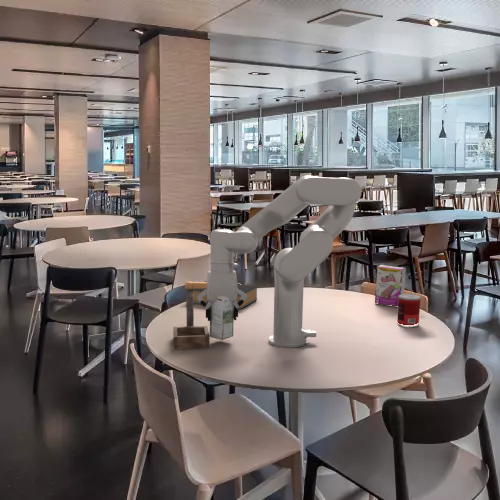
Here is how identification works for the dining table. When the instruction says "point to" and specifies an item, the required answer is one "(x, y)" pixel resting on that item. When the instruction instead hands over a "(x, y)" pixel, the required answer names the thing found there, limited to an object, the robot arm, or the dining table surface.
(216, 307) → the syrup box
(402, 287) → the candy bar box
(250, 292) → the book
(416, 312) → the canned food
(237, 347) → the dining table surface
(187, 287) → the bar
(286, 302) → the robot arm
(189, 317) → the holder
